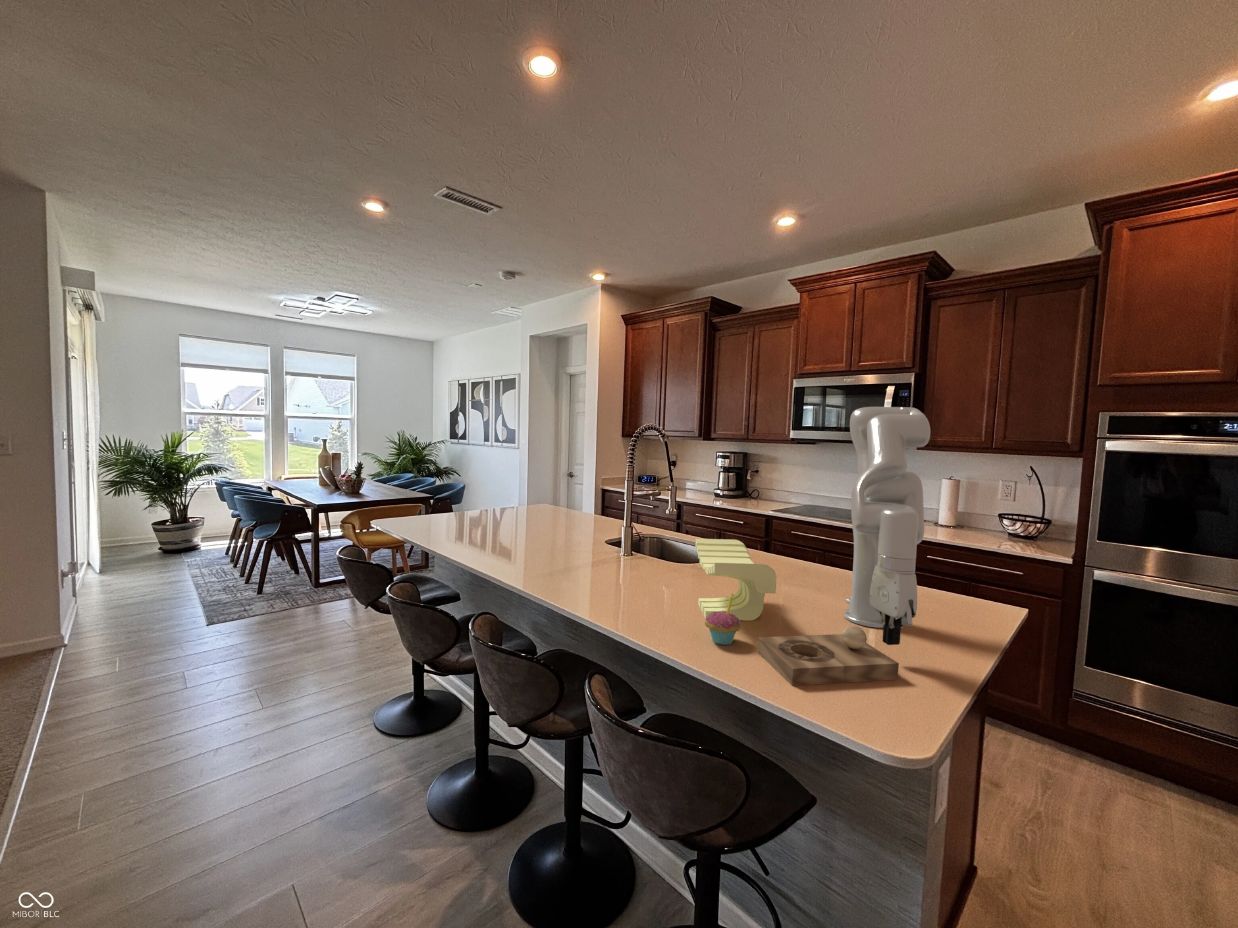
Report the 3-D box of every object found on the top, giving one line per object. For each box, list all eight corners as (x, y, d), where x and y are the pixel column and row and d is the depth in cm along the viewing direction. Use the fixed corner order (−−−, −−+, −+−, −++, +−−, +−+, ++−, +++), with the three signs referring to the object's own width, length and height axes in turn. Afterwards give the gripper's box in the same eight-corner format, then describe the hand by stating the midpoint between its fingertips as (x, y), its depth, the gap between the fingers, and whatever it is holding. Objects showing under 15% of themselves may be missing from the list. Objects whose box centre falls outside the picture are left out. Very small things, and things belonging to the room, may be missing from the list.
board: (850, 647, 124) (851, 633, 124) (897, 679, 108) (898, 663, 108) (757, 651, 120) (758, 637, 119) (792, 685, 104) (792, 668, 104)
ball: (836, 644, 117) (838, 622, 117) (856, 643, 118) (858, 621, 117) (850, 653, 112) (851, 631, 112) (870, 652, 113) (872, 630, 112)
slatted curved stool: (773, 632, 132) (777, 564, 131) (711, 630, 132) (714, 562, 131) (743, 595, 162) (746, 539, 161) (693, 594, 162) (695, 538, 161)
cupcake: (734, 634, 130) (737, 587, 129) (744, 648, 121) (746, 598, 121) (701, 633, 130) (703, 587, 129) (708, 647, 121) (710, 598, 120)
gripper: (859, 555, 122) (855, 631, 123) (905, 572, 107) (899, 658, 108) (888, 555, 123) (883, 630, 124) (936, 572, 109) (930, 656, 110)
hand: (891, 643), depth 116 cm, fingers closed
